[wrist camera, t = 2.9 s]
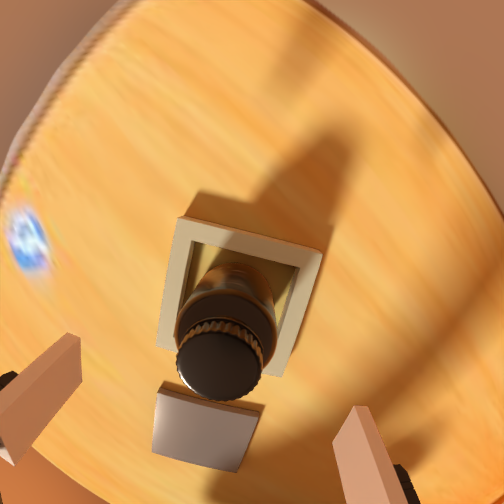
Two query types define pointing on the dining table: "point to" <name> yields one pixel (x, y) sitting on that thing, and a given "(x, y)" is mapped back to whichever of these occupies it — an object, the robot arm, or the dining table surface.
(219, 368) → the supplement bottle
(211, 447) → the slate coaster
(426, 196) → the dining table surface
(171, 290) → the frame
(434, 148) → the dining table surface
